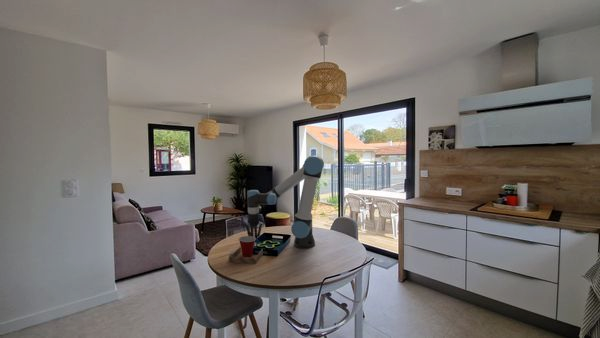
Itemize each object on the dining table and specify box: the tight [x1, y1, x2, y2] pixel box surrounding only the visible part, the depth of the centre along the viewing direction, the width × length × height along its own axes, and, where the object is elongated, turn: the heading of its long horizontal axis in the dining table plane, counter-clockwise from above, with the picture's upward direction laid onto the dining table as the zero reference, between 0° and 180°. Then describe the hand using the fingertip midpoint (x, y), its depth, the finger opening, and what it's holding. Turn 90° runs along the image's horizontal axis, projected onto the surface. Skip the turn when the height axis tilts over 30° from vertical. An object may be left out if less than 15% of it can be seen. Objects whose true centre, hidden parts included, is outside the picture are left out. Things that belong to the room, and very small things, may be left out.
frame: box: [228, 246, 264, 264], centre depth 155 cm, size 17×16×3 cm
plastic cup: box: [238, 235, 256, 258], centre depth 157 cm, size 11×11×12 cm
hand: (254, 246), depth 168 cm, fingers closed
